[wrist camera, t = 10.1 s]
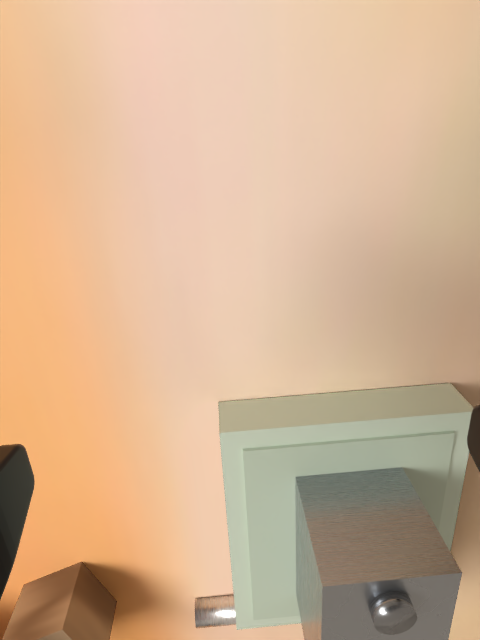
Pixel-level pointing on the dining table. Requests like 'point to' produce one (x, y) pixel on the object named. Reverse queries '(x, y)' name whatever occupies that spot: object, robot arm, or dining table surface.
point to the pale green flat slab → (325, 458)
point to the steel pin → (215, 611)
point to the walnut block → (63, 608)
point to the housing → (370, 560)
